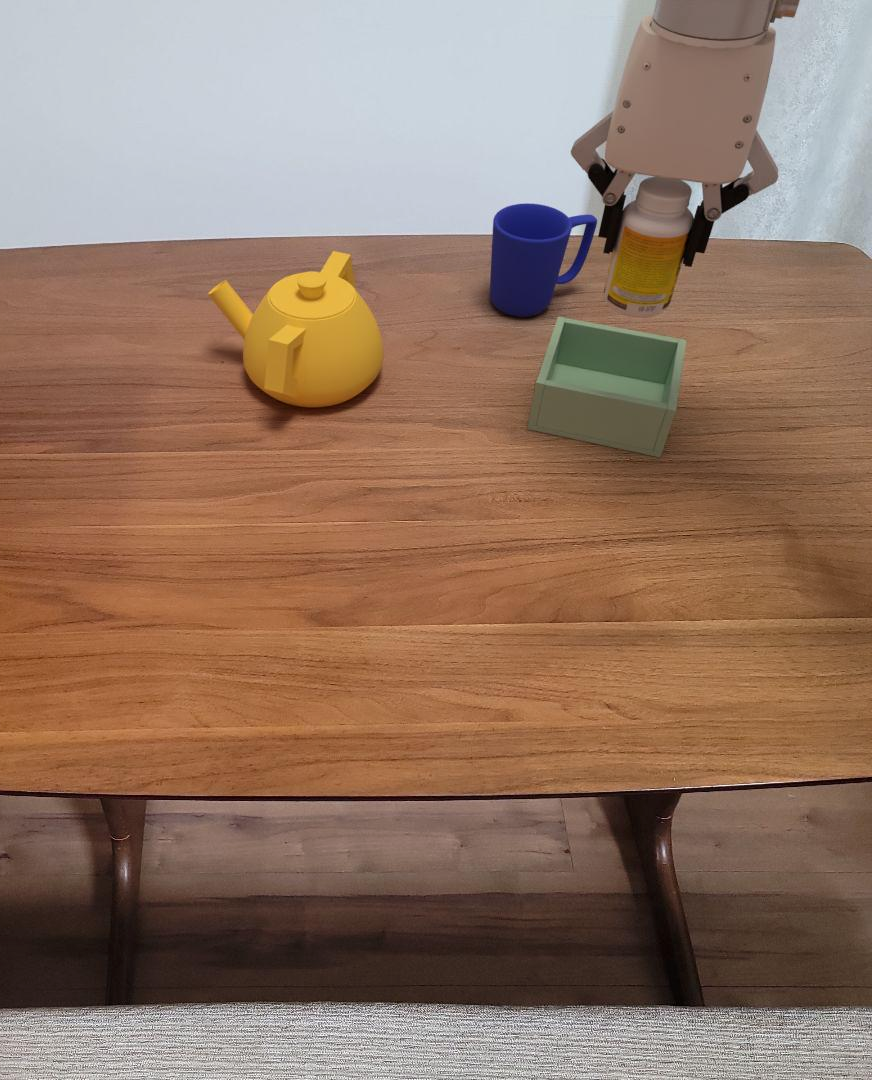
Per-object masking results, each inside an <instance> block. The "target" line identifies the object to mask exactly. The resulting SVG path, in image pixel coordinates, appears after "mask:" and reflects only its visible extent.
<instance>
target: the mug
mask: <svg viewBox="0 0 872 1080" xmlns="http://www.w3.org/2000/svg"><path fill="white" fill-rule="evenodd" d="M492 219H493V220H492V236H491V237H492V238H491V241H492V242H491V255H490V257H491V259H490V274H489V275H490V278H489V279H490V280H489V297H490V300H491V303H492V304H493V306H494V307H495V308H496V309H497V310H499V311H500V312H502V313H504V314H506V315H509V316H514V317H520V318H523V317H524V318H525V317H532V316H536V315H538V314H540V313H541V314H542V312H544V311H545V310H547V308H548V306H549V305H550V303H551V302H552V299H553V296H554V293H555V289H556V286H557V285H566V284H568V283H570V282H571V281H573V280H574V279H575V278H576V277H578V274H579V273H580V272H581V270H582V268H583V267H584V264H585V261H586V259H587V257H588V254H589V251H590V248H591V245H592V242H593V239H594V235H595V233H596V228H597V225H598V219H597V217H595V216H594V214H588V213H587V214H579V215H573V216H568V215H567V214H566V213H564V212H563V211H561V210H559V209H557V208H556V207H555V208H554V207H552V206H549V205H545V204H540V203H539V204H538V203H516V204H511V205H507V206H505V207H503V208H501V209H500V210H499V211H497V212H496V213H495V215H494V216H493V218H492ZM582 225H585V227H584V231H583V234H582V238H581V241H580V244H579V248H578V251H577V254H576V256H575V258H574V260H573V262H572V264H571V265H570V268H569V269H568V270H567V271H566V272H565V273H563V274H561V275H560V271H561V268H562V264H563V261H564V258H565V254H566V250H567V247H568V244H569V240H570V238H571V237H570V236H571V233H572V230H573V228H576V227H579V226H582Z"/></svg>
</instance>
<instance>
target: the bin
mask: <svg viewBox="0 0 872 1080" xmlns="http://www.w3.org/2000/svg"><path fill="white" fill-rule="evenodd" d="M687 342H688V340H687V339H683V338H677V337H672V336H666V335H661V334H656V333H650V332H645V331H640V330H639V331H638V330H634V329H628V328H624V327H618V326H613V325H607V324H601V323H596V322H591V321H584V320H579V319H574V318H568V317H564V316H563V317H562V316H557V318H556V321H555V323H554V327H553V330H552V333H551V335H550V339H549V342H548V345H547V347H546V351H545V354H544V357H543V360H542V364H541V365H540V366H541V367H540V369H539V373H538V375H537V378H536V382H535V387H534V391H533V395H532V396H533V397H532V401H531V407H530V410H529V411H530V412H529V417H528V422H527V428H526V429H527V430H530V431H534V432H539V433H543V434H549V435H552V436H557V437H562V438H568V439H571V440H576V441H581V442H585V443H590V444H594V445H600V446H605V447H609V448H614V449H618V450H623V451H628V452H632V453H637V454H642V455H647V456H651V457H656V458H661V457H662V454H663V451H664V448H665V445H666V442H667V439H668V436H669V433H670V431H671V427H672V424H673V421H674V418H675V414H676V413H677V408H678V403H679V402H678V401H679V395H680V388H681V382H682V375H683V369H684V361H685V356H686V349H687Z"/></svg>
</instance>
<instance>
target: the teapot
mask: <svg viewBox="0 0 872 1080" xmlns="http://www.w3.org/2000/svg"><path fill="white" fill-rule="evenodd" d="M353 268H354V267H353V261H352V255H351V254H349V253H344V252H340V251H335V250H333V251H332V252H331V254H330V255H329V257H328V258H327V260H326V262H325V264H324V265H323V266H322V268H321V270H320V271H315V270H314V271H313V270H312V271H309V270H308V271H304V272H299V273H298V272H297V273H295V274H291V275H288V276H285V277H283V278H281V279H280V280H278V281H277V282H275V283H274V284H273V285H272V286H271V288H270V289H268V291H267V292H266V294H265V295H264V296H263V298H262V300H260V303H259V304H258V306H257V307H256V309H255V311H254V313H253V312H252V311H251V310H250V309H249V308H248V306H247V305H246V304H245V302H244V301H243V300H242V298H241V297H240V295H238V293H237V292H236V291H235V289H234V288H233V287H232V286H231V285H230V283H229V282H228V281H227V279H225V280H222V281H221V282H219V283H218V284H217V285H215V286H214V287H213V288H212V289H210V291H209V292H207V295H208V297H209V298H210V299H211V300H212V301H213V303H214V304H215V305H216V307H217V308H218V309H219V310H220V312H221V313H222V314H223V315H224V317H225V318H226V319H227V320H228V322H229V323H230V324H231V325H232V327H233V328H234V329H235V330H236V332H237V333H238V334H239V336H240V337H241V338H242V339H243V341H244V342H243V349H242V360H243V367H244V370H245V372H246V374H247V375H248V377H249V379H250V381H252V383H253V384H254V385H256V387H258V388H259V389H260V390H261V391H262V392H264V393H265V394H267V395H268V396H270V397H272V398H273V399H275V400H277V401H279V402H282V403H284V404H287V405H291V406H295V407H301V408H325V407H326V408H327V407H332V406H336V405H339V404H343V403H344V402H347V401H349V400H352V399H353V398H355V397H356V396H358V395H359V394H361V393H362V392H363V391H364V390H365V389H366V388H369V386H370V385H371V384H372V383H373V382H374V381H375V380H376V379H377V377H378V375H379V373H380V371H381V369H382V367H383V362H384V343H383V338H382V335H381V332H380V328H379V327H380V326H379V325H378V323H377V320H376V317H375V316H374V314H373V312H372V310H371V309H370V307H369V306H368V305H367V303H366V302H365V300H364V299H363V298H362V295H361V294H360V293H359V292H358V290H357V289H356V280H355V273H354V269H353Z"/></svg>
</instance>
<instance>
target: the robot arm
mask: <svg viewBox="0 0 872 1080" xmlns="http://www.w3.org/2000/svg"><path fill="white" fill-rule="evenodd" d="M800 1H801V0H656V1H655V4H654V9H653V13H649V14H646V15H645V16H643V17H642V19H641V20H640V23H639V25H638V27H637V30H636V32H635V35H634V38H633V41H632V43H631V45H630V49H629V52H628V55H627V58H626V61H625V65H624V68H623V71H622V76H621V79H620V83H619V87H618V91H617V94H616V98H615V102H614V107H613V110H612V111H611V112H610V113H608V114H607V115H605V117H604V118H602V119H601V120H599V121H598V122H597V123H596V124H594V126H592V127H591V128H590V129H588V130H587V131H586V132H584V133H583V134H582V135H581V136H580V137H578V138H577V139H576V140H575V141H574V142H573V145H572V147H571V150H570V155H571V157H572V158H573V159H574V160H575V162H576V163H577V165H579V167H580V168H581V170H583V171H584V172H585V173H586V174H587V177H588V179H589V181H590V182H591V184H592V185H593V187H594V188H595V190H597V192H598V193H599V194H600V196H601V201H602V203H603V205H604V208H603V213H602V217H601V221H600V225H599V229H598V235H597V237H598V238H601V239H602V238H603V239H605V243H604V246H603V252H602V253H603V254H607V255H610V253H613V249H614V244H615V240H616V236H617V232H618V227H619V223H620V219H621V215H622V212H623V209H624V208H625V203H626V199H627V194H625V191H626V190H627V187H628V186H629V184H630V183H631V181H632V180H633V178H634V177H635V175H642V176H648V177H662V178H669V179H677V180H682V181H684V182H692V183H700V184H701V188H702V200H701V202H700V204H699V205H697V206H696V210H695V213H694V215H693V217H694V223H693V228H692V231H691V234H690V238H689V241H688V244H687V248H686V251H685V254H684V258H683V262H682V265H684V267H688V268H692V266H693V264H694V260H695V257H696V254H697V253H698V254H705V253H706V250H707V246H708V244H709V240H710V237H711V234H712V232H713V231H712V230H713V227H714V224H715V222H716V221H718V220H719V219H720V218H721V216H722V214H723V215H724V214H725V213H726V212H728V211H730V210H731V209H733V208H735V207H736V206H739V204H741V203H743V202H745V201H746V200H747V199H748V198H749V197H751V196H752V195H756V194H757V193H759V192H762V191H763V190H765V189H767V188H768V187H771V186H772V185H775V184H776V183H777V181H778V180H779V168H778V165H777V163H776V162H775V160H774V158H773V157H772V155H771V153H770V152H769V150H768V148H767V146H766V144H765V142H764V140H763V139H762V137H761V135H760V133H759V132H758V130H757V128H758V123H759V121H760V117H761V114H762V109H763V105H764V101H765V97H766V92H767V88H768V83H769V78H770V73H771V68H772V64H773V60H774V54H775V53H774V52H775V46H776V36H777V32H776V30H775V29H774V28H773V27H772V26H770V23H771V24H774V23H775V21H776V19H777V20H779V19H781V20H782V19H783V18H791V19H794V18H795V16H796V14H797V11H798V8H799V5H800ZM604 143H605V149H604V151H605V152H604V158H602V157H601V156H600V155H599V153H598V151H597V148H599V147H600V146H602V145H603V144H604ZM747 162H748V163H749V165H750V166H751V168H752V171H750V172H749V173H747V174H746V175H744V176H741V175H742V173H743V172H744V170H745V167H746V164H747ZM611 168H613V170H612V169H611ZM725 184H726V185H725ZM724 185H725V186H724Z"/></svg>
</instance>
